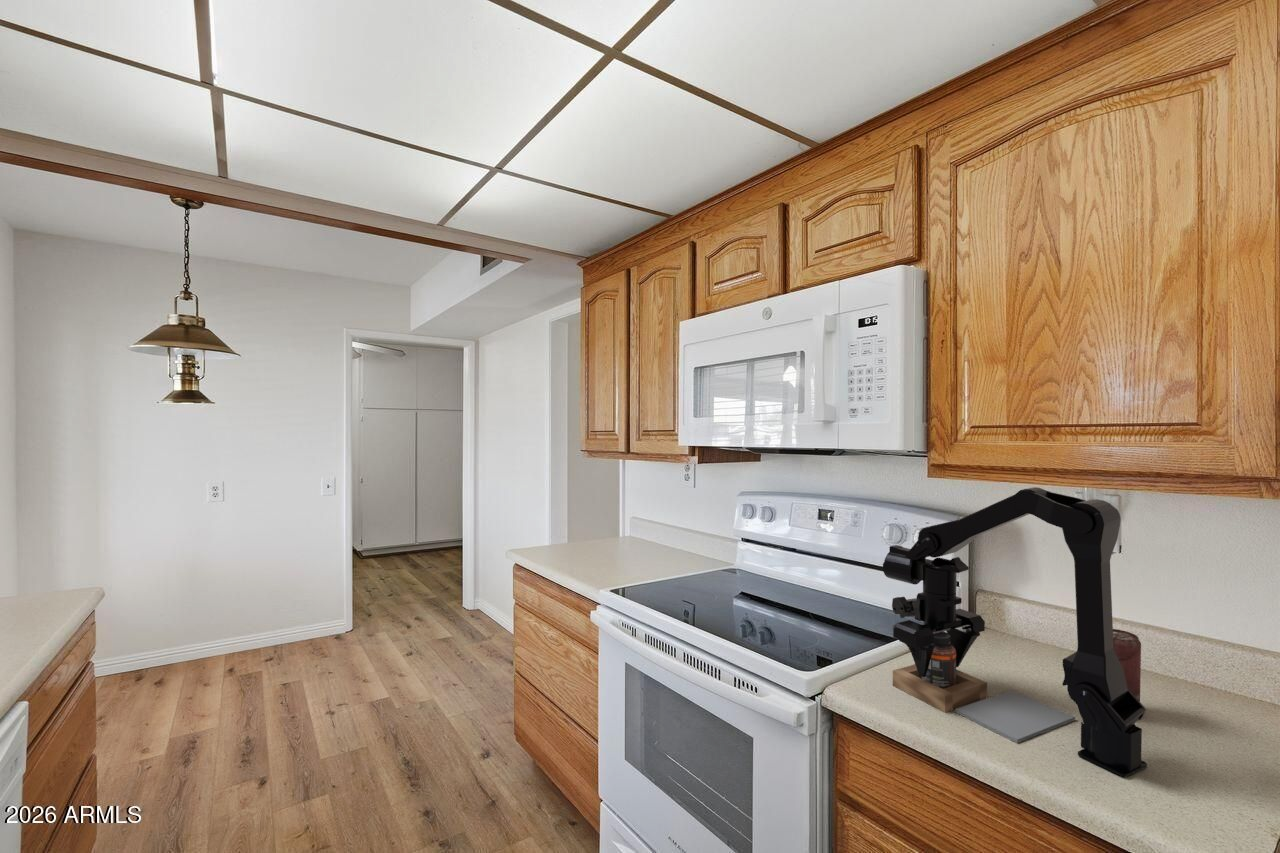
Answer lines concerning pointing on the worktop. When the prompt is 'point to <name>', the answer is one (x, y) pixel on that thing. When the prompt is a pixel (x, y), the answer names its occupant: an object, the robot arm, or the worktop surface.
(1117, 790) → the worktop surface
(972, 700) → the walnut holder
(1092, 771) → the worktop surface
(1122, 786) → the worktop surface
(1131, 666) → the can
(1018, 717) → the grey rubber mat
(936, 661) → the supplement bottle
